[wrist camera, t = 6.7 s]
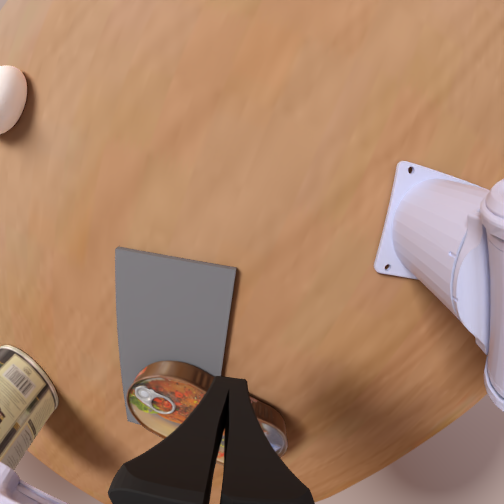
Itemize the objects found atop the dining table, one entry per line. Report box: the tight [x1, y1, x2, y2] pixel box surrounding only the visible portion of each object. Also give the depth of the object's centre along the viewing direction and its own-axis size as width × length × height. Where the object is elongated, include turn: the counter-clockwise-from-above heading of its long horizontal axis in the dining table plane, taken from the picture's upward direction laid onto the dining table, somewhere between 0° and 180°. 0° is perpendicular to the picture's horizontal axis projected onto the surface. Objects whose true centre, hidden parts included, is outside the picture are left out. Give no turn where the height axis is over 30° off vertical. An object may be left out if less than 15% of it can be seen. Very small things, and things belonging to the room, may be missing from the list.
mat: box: [115, 247, 236, 425], centre depth 25 cm, size 9×19×1 cm, turn 171°
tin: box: [126, 361, 288, 466], centre depth 25 cm, size 15×3×8 cm
